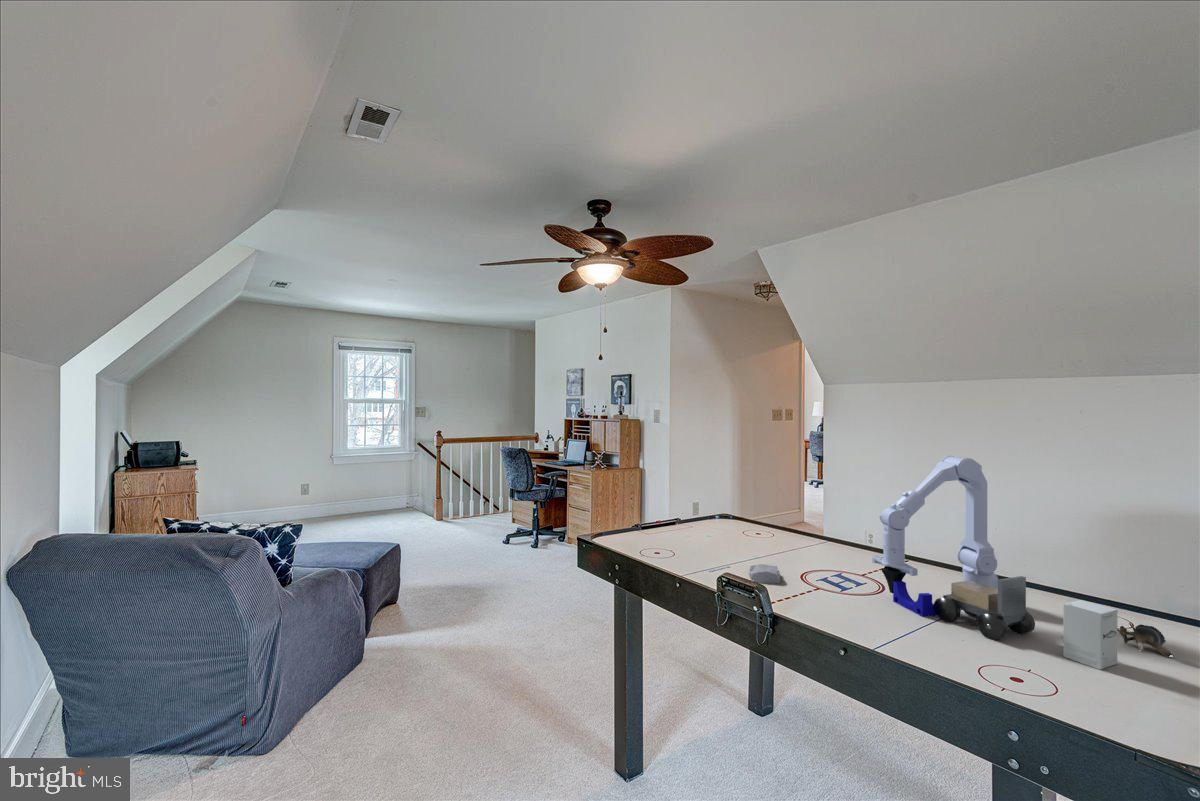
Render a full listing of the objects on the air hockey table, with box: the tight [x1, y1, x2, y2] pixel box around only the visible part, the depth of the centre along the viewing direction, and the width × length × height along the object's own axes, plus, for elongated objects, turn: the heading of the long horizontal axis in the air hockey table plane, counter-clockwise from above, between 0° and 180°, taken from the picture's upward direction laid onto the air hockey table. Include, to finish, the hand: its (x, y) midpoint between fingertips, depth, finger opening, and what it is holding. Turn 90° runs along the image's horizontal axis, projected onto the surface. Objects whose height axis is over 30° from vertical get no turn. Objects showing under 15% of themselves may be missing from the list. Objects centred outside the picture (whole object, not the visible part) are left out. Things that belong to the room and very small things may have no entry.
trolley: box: [933, 575, 1036, 640], centre depth 143 cm, size 13×18×15 cm
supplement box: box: [1062, 599, 1118, 671], centre depth 124 cm, size 7×7×13 cm
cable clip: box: [892, 580, 938, 618], centre depth 156 cm, size 12×4×6 cm, turn 8°
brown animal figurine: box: [1117, 622, 1173, 658], centre depth 130 cm, size 8×7×9 cm
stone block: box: [748, 563, 781, 585], centre depth 183 cm, size 12×5×10 cm
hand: (893, 592), depth 164 cm, fingers closed
